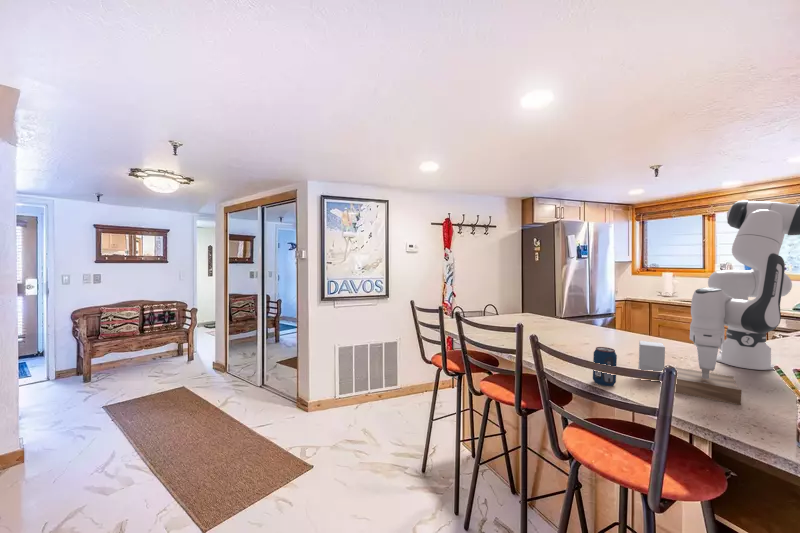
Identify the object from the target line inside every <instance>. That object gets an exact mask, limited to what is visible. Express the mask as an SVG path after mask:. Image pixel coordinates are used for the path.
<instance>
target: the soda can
mask: <svg viewBox="0 0 800 533" xmlns="http://www.w3.org/2000/svg"><path fill="white" fill-rule="evenodd" d="M617 359H618V355H617V354H616V349H614V348H611V347H606V346H596V347H595V349H594V351H593V360H592V363H593V362H595V363H600V364H606V365H611V366H616V367H617ZM592 380H593V381H594V383H595V385H598V386H601V387H605V388H606V387H607V388H609V387H610V388H611V387H614V385H615V384H616V382H617V374H616V375H611V374H607V373H602V372H598V371H594V370H593V369H592Z"/></svg>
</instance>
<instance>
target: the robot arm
mask: <svg viewBox="0 0 800 533" xmlns="http://www.w3.org/2000/svg"><path fill="white" fill-rule="evenodd" d="M726 220H727V224H728V226H730V227H732V228H734V229H737V230H738V231H737V233H736V235H735V238H734V240H733V243H732V248H731V253H732V255H733V257H734V259H735V260H736V261H737V262H738V263H740V264H742V265H744V266H746V267H748V268H750V269H747V270H746V269H724V270H717V271H713V272H712V273H711V275H709V277H708V279H707V285H708V287H700V288H697V289H695V290H694V292H693V294H692V297H691V301H690V302H691V304H690V316H691V322H690V325H689V341H692V342H693V345H694V346H695V347H696V351H697V360H698V367H699V369H701V372H702V378H705V379H708V378H709V373H711V372H713V371H715V368H716V365H717V362H719V363H723V364H725V365H729V366H733V367H737V368H743V369H748V370H749V369H750V370H759V371H767V370H771V371H772V370H773V371H774V369H773V367H774V366H775V365H774V364H772V348H771V347H770V346H769V345H768V344H767V343H766V342H767V339H768V337H767V336H768V335H767V333H770V332H772V331H774V330H775V329H776V328H777V327H779V325H780V323H781V321H782V320H781V319H782V315H781V312H782V311H781V300H782V297H785V296H787V295H788V294H790V292H791V290H792V288H793V282H792V280H791V278H790V277H789V275H788V274H786V273H785V272H786V271H785V270H786V269H785V268H786V265H785V264H786V263H785V260H784V258H783V257H782V256H780V251H781V248H782V245H783V242H784V238H785V235H787V236H800V204H792V203H787V202H780V201H761V200H759V201H758V200H757V201H756V200H753V201H752V200H751V201H750V200H738V201H736V202H734V203H733V204H732V205H731V206H730V207H729V209H728V211H727V213H726ZM749 298H753V299H751V300H750V299H749ZM725 326H726V327H727V328H726V330H725ZM725 338H726V339H725ZM710 371H711V372H710Z"/></svg>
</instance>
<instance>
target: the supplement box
mask: <svg viewBox="0 0 800 533" xmlns="http://www.w3.org/2000/svg"><path fill="white" fill-rule="evenodd" d="M665 359H666V347H665V345H664V344H663V342H655V341H654V342H653V341H645V340H639V343H638V369H641V370H653V371H662V370H663V368H664V369H665Z"/></svg>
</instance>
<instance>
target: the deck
mask: <svg viewBox="0 0 800 533" xmlns="http://www.w3.org/2000/svg"><path fill="white" fill-rule="evenodd" d="M676 369H677V371H678V377H677V384H676V392H675V393H676V394H682V395H685V396H686V395H687V396H690V397H691V396H692V397H697V398H701V399H702V398H703V399H706V400H707V399H708V400H713V401H718V402H721V403H722V402H723V403H728V404H732V405H738V406H741V405H742V392H743V391H742V389H741V388H739V387H738V385H737V382H736V380H735V378H734V376H731V375H725V374H720V373H719V374H718V373H713V372H709V378H708V379H705V378H702V370H700V371H699V370H696V369H695V370H693V369H687V368H682V367H675V370H676ZM703 382H706V383H703ZM708 383H709V384H708Z"/></svg>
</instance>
